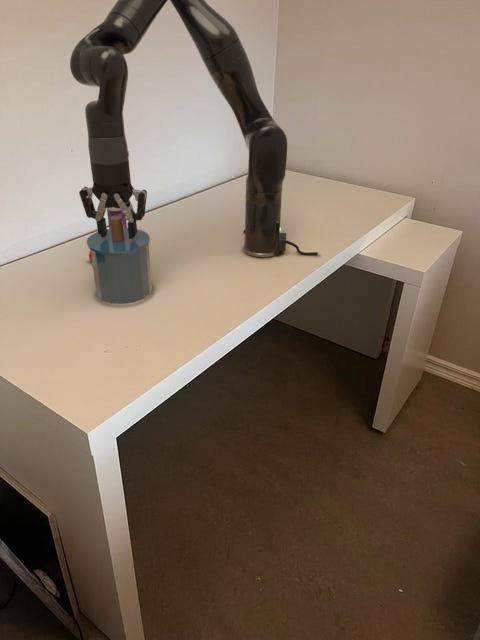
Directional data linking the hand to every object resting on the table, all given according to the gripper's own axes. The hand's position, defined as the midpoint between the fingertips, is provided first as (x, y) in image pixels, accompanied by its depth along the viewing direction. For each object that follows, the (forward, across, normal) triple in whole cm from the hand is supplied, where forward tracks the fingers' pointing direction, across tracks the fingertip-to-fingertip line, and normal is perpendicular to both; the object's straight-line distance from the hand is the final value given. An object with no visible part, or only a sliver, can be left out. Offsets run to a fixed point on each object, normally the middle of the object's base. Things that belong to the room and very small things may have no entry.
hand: (118, 236), depth 113 cm
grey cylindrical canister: (+14, 0, 0) cm, 14 cm away
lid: (+1, 0, 0) cm, 1 cm away
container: (+14, -9, +27) cm, 32 cm away
